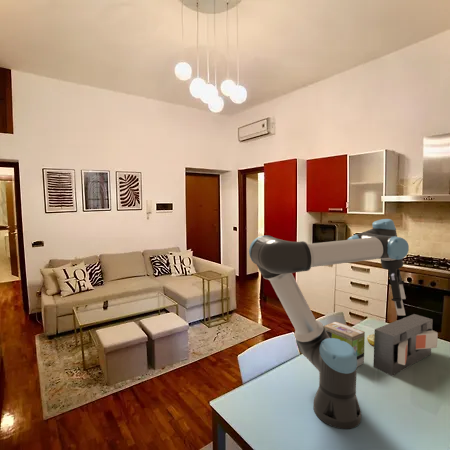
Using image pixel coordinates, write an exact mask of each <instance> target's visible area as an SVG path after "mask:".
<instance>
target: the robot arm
mask: <svg viewBox="0 0 450 450" xmlns="http://www.w3.org/2000/svg"><path fill="white" fill-rule="evenodd" d="M371 226H372V228H371V229H368V230H366V231H362V232H359V233H357V234H356V233H355V234H353V235H352V236H350V237H348V238H347V239H345V240H344V239H343V240H333V241H324V242H313V243H307V242H306V241H292V240H291V241H290V240H285V239H284V240H283V239H280V238H277V237H273V236H271V235H261V236H257V237H256V238H254V239H253V240H252V242H251V243H250V246H249V249H248V254H249V255H248V256H249V258H250V260H251V262H253V264H255V265H256V267H257V269H258V271H259V272H260V274H261V276H262V277H263V279H265V280H268V281H269V282H270V284H271V286H272V288H273V290H274V292H275V294H276V296H277V298H278V299H279V301H280V303H281V305H282V307H283V309H284V311H285V313H286V315H287V316H288V318H289V320H290V322H291V324H292V326H293V327H294V330H295V331H294V334H293V335H294V338H295V343H296V346H297V348H298V350H299V351H300V353H301V354H302V355H303V356H304V357H306V359H307V360H308V361H309V362H310V363H311V364H312V365H313V366H314V367H315V369H316V370H317V371H318V372H319V374H318V375H319V378H318V380H319V381H318V382H319V383H318V385H319V386H318V389H317V391H316V394H315V396H314V399H313V411H314V414H315V415H316V416H317V418H318V419H319V420H320V421H322V422H323V423H324V424H327V425H328V426H331V427H333V428H337V429H343V430H348V429H349V430H350V429H353V428H356V427H357V426H359V425H360V423H361V420H362V410H361V407H360V404H359V401H358V396H357V375H358V373H357V371H358V369H357V368H358V367H357V355H356V352H355V350H354V348H353V347H352V346H351V345H350V344H348V343H347V342H345V341H340V339H335V338H330V337H329V336H328V334H327V332H326V330H325V328H324V326H325V325H323V323H322V322H321V321H319V320H316V317H315V315H314V314H313V312H312V310H311V308H310V305H309V304H308V303H307V299H306V298H305V296H304V294H303V292H302V290H301V288H300V287H299V285H298V282H297V280H296V279H295V276H294V275H293V274H295V273H300V272H301V273H302V272H308V271H310V270H311V269H312V268H316V267H323V266H331V265H332V266H333V265H340V264H347V263H357V262H363V261H371V260H380V263H381V264H380V265H381V267H382V268H383V269H384V270H388V273H387V274H388V275H387V276H388V279H389V284H390V289H391V296H392V298H391V301H392V302H394V307H395V311H396V315H397V316H406V310H405V307H404V302H403V300H406V298H407V296H406V294H405V288H404V283H405V281H404V280H403V278H402V275H401V270H400V269H401V268H402V267H403V266H404V261H403V259H405V258H406V256H407V255H408V254H409V250H410V249H409V248H410V247H409V243H408V240H407V239H405V238H403V237H400V236H398V233H397V228H396V224H395V222H394V220H392V219H390V218H381V219H378V220H374V221H373V222H372V225H371Z"/></svg>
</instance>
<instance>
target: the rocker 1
mask: <svg viewBox="0 0 450 450" xmlns="http://www.w3.org/2000/svg"><path fill="white" fill-rule="evenodd" d="M407 350H408V339H407V340H405V341H402V342H400V343H399V346H398V364H402V365H405V364H406V360H407Z"/></svg>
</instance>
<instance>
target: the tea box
mask: <svg viewBox="0 0 450 450" xmlns="http://www.w3.org/2000/svg"><path fill="white" fill-rule="evenodd" d="M323 326H324V328H325V330H326V332H327V334H328V336H329V337H330V338H335V339H340V341H345V342H347V343H348V344H350V345H351V346H352V347H353V348H354V350H355V352H356V355H357V368H358V367H360V366H362V365H363V364H364V363H365V344H366V343H365V341H366V340H365V337H366V332H365V331H364V330H362V329H358V328H356V327H354V326H353V327H352V326H351V325H347V324H344V323H342V322H338V321H333V322H332V323H331V322H330V323H328V324H326V325H323Z"/></svg>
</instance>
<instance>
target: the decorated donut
mask: <svg viewBox="0 0 450 450" xmlns="http://www.w3.org/2000/svg"><path fill="white" fill-rule="evenodd" d="M366 338H367V342H368V343H369V344H370V345H371V346H373V347H374V333H372V334H369V335H367V337H366Z"/></svg>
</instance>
